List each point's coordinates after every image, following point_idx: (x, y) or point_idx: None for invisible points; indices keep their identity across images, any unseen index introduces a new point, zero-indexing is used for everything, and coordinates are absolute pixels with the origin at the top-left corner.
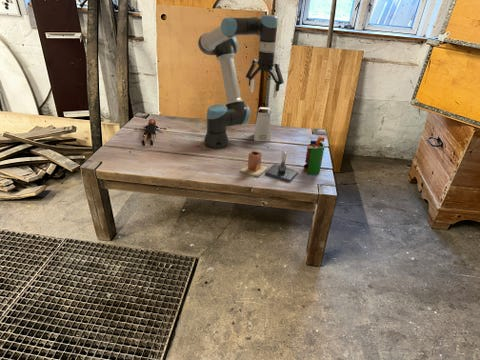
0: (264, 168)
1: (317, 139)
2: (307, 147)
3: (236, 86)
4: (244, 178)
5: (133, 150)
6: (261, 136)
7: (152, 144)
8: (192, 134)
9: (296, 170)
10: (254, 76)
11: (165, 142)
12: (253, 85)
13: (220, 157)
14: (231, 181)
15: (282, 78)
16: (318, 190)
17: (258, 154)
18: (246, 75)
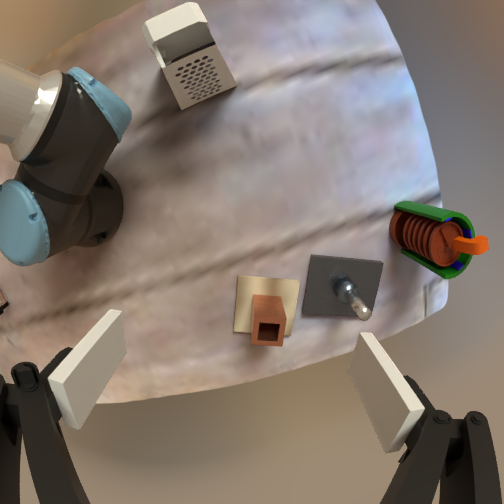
0: (293, 293)
1: (467, 245)
2: (429, 252)
3: None
4: (259, 351)
5: (7, 334)
6: (201, 92)
7: (7, 305)
8: None
9: (379, 263)
10: (50, 416)
11: (10, 273)
12: (96, 350)
13: (145, 283)
14: (237, 374)
15: (490, 451)
16: (425, 309)
17: (281, 333)
18: (3, 428)
